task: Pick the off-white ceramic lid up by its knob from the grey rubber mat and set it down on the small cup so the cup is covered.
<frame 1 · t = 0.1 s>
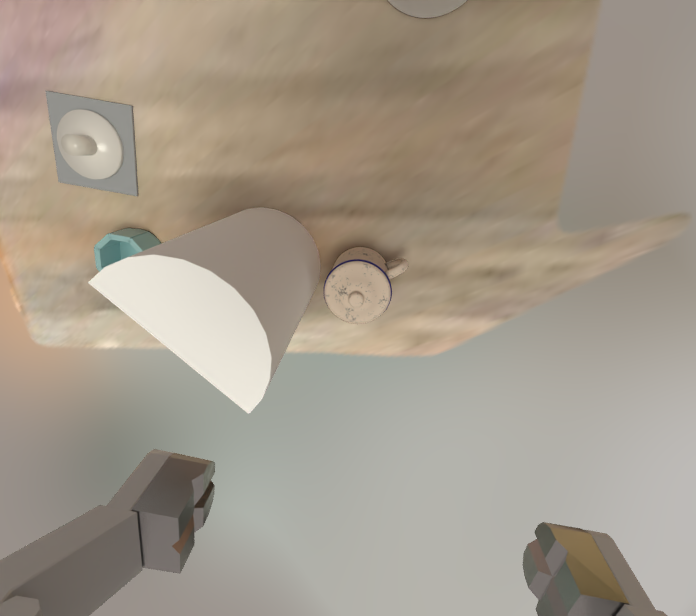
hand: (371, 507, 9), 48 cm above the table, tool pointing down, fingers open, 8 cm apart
cup: (142, 253, 59), on the table
mat: (94, 145, 53), on the table
teacup with lid: (369, 269, 57), on the table
lid: (93, 145, 53), resting on mat
cylinder: (266, 263, 58), on the table
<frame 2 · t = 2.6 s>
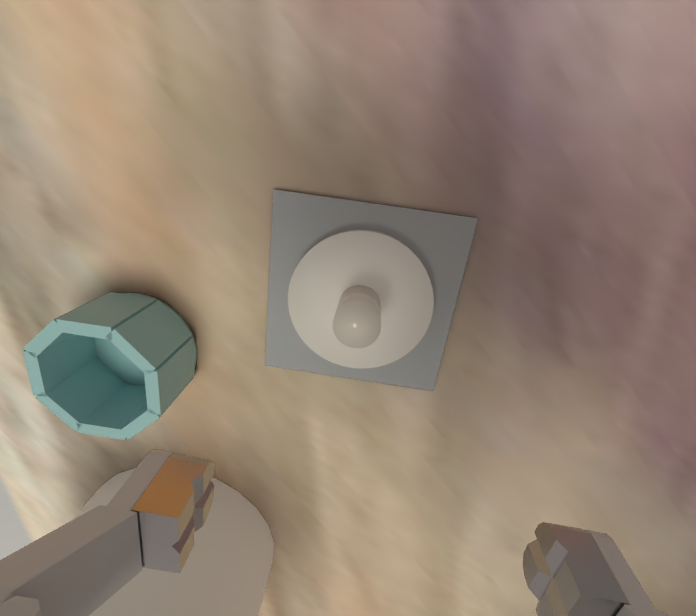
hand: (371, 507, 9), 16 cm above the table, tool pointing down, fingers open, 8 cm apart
cup: (143, 344, 27), on the table
mat: (360, 297, 24), on the table
lid: (360, 299, 24), resting on mat
cylinder: (183, 534, 34), on the table
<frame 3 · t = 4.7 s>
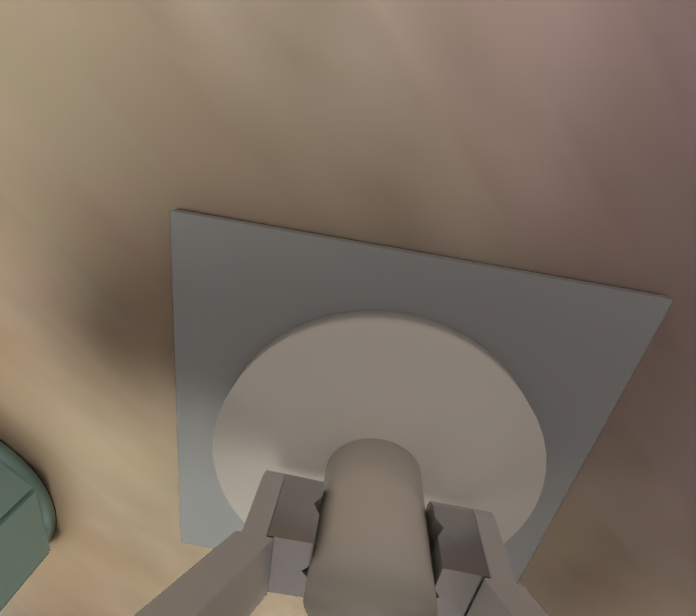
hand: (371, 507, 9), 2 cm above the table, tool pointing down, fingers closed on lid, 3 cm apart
mat: (372, 440, 11), on the table
lid: (373, 448, 11), resting on mat, touching gripper
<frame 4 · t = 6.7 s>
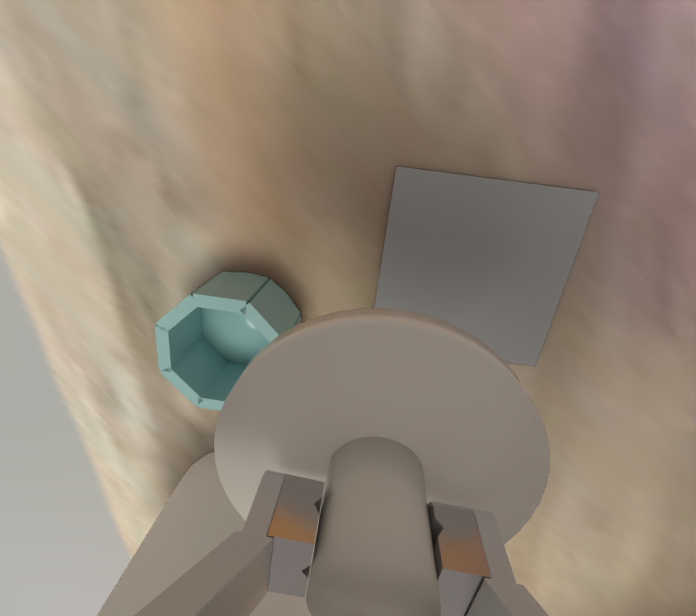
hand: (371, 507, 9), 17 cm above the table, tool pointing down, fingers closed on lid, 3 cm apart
cup: (247, 323, 27), on the table
mat: (470, 274, 24), on the table
lid: (375, 447, 11), point 15 cm above the table, touching gripper
cylinder: (266, 515, 35), on the table
when the fingers open (9 cm above the table, at t = 9.0 s): lid drops 3 cm, resting on cup.
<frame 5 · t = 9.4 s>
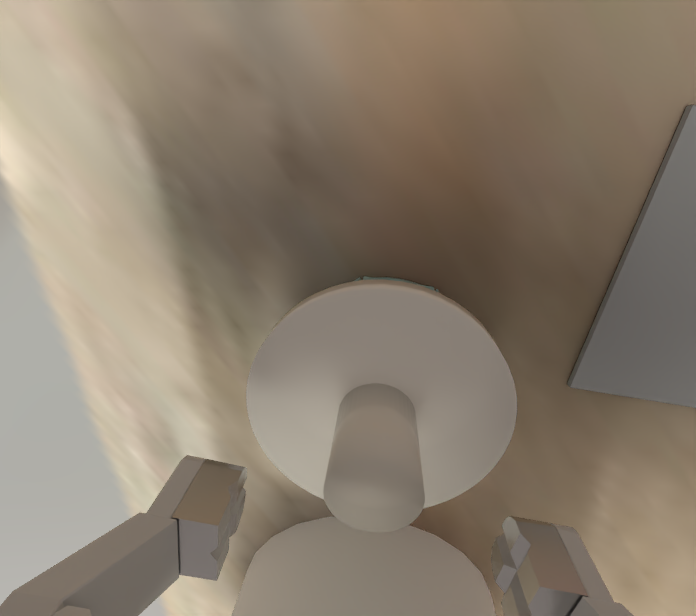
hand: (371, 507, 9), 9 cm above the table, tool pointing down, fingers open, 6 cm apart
lid: (377, 398, 13), point 5 cm above the table, touching cup
cylinder: (365, 599, 26), on the table, touching arm
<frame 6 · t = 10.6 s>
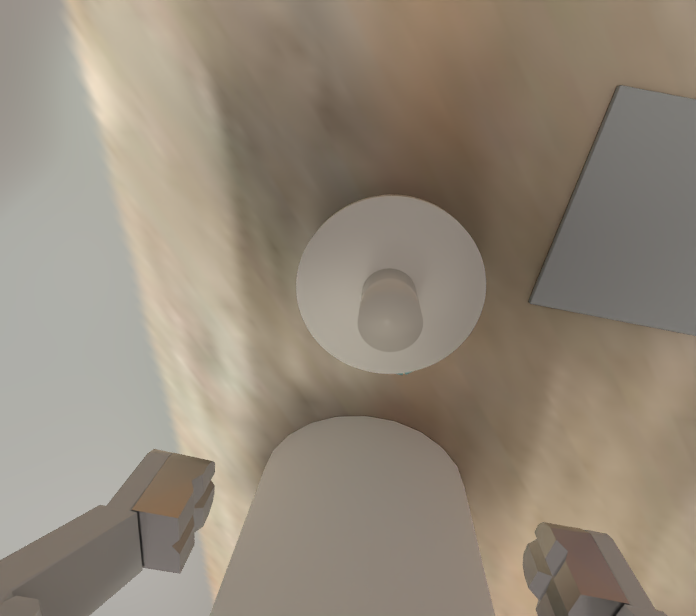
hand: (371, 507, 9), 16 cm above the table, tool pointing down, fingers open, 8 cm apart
mat: (671, 226, 21), on the table
lid: (388, 287, 19), point 5 cm above the table, touching cup
cylinder: (361, 494, 32), on the table
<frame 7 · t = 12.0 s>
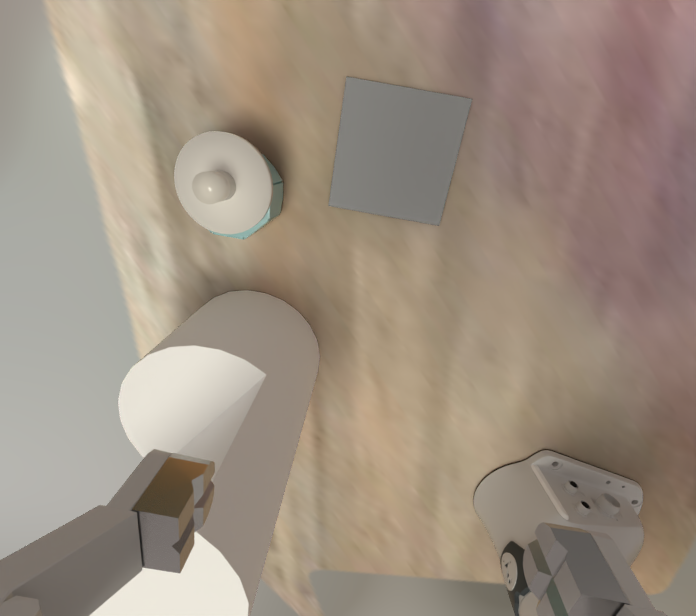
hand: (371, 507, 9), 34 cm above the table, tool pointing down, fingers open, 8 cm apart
cup: (246, 190, 40), on the table
mat: (395, 155, 37), on the table
lid: (226, 184, 35), point 5 cm above the table, touching cup
cylinder: (254, 352, 48), on the table
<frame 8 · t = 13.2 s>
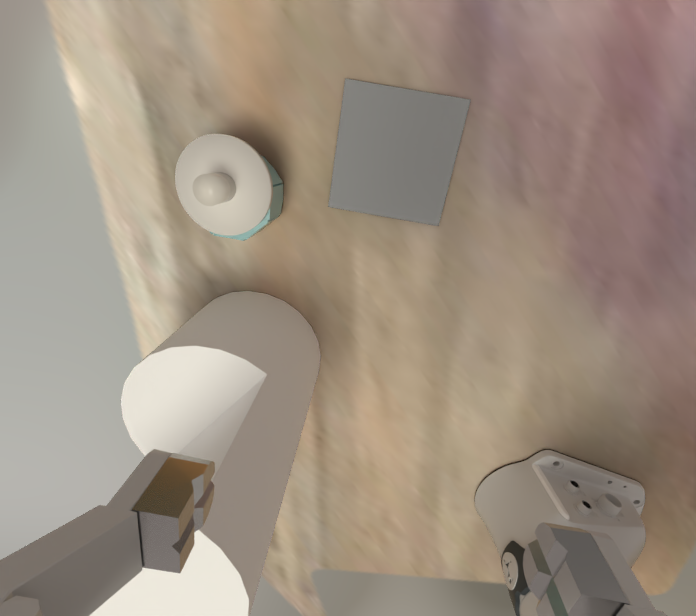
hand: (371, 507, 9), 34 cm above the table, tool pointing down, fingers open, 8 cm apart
cup: (247, 192, 40), on the table
mat: (394, 156, 37), on the table
lid: (226, 186, 35), point 5 cm above the table, touching cup
cylinder: (255, 352, 48), on the table
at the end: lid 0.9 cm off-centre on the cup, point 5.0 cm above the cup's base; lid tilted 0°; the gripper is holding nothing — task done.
